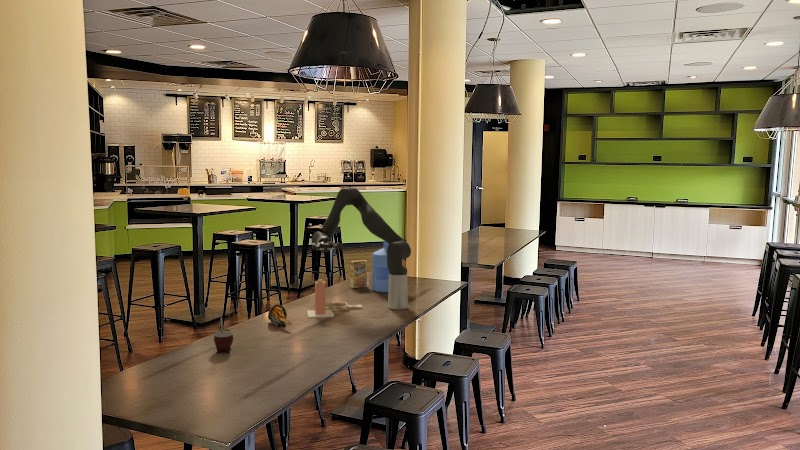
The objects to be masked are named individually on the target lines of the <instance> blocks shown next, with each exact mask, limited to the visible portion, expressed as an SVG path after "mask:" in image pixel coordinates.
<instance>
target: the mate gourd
mask: <svg viewBox="0 0 800 450" xmlns="http://www.w3.org/2000/svg"><path fill="white" fill-rule="evenodd" d="M219 323H220V329H218V330H217V331H216V332H215V333H214V336H213V343H214V344H215V349H216V354H221V353H225V354H230V351H231V350H232V348H231V347H232V344H233V341H234V334H233V332H232V331H231V330H230V329H228V328H226V329H225V328H223V317H222V316H220V322H219Z"/></svg>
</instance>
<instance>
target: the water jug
mask: <svg viewBox="0 0 800 450" xmlns="http://www.w3.org/2000/svg"><path fill="white" fill-rule="evenodd" d="M388 245H389V244H388V243H387V242H386V241H384V240H383V247H382V248H380V249H378V250H376V251H374V252H372V255H371V256H372V257H371V262H372V264H371V265H372V267H371V268H372V270H371V276H372V279H371V280H372V281H371V290H372V291H374V292H378V293H384V294H385V293H387V292H388V291H389V270H388V267H387V248H388Z"/></svg>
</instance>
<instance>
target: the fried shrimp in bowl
mask: <svg viewBox="0 0 800 450" xmlns="http://www.w3.org/2000/svg"><path fill="white" fill-rule="evenodd" d="M267 314H268V315H267V316H268V317H267V318H268V320H269V321H270V322H271V323H273V324H274V325H275V326H277V327H279V326H286V325H288V326H291V325H292V322H291V321H290V320H287V316H288V314H287V310H286V308H285V307H284V306H283V305H281V304H277V303H276V304H274V305H273V306H272V307H271V308H270V309H269V311H268V313H267Z"/></svg>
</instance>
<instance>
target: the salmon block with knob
mask: <svg viewBox="0 0 800 450" xmlns="http://www.w3.org/2000/svg"><path fill="white" fill-rule="evenodd" d="M325 306H326V281H325V280H323V278H321V279H317V280H315V281H314V310H315V314H325Z"/></svg>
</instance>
